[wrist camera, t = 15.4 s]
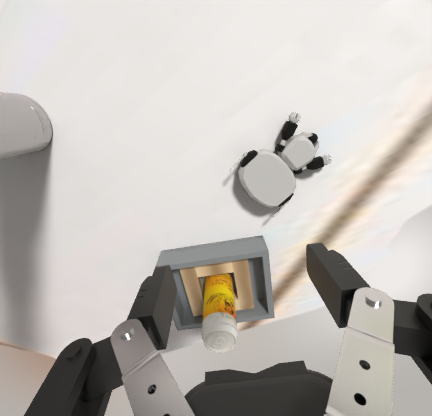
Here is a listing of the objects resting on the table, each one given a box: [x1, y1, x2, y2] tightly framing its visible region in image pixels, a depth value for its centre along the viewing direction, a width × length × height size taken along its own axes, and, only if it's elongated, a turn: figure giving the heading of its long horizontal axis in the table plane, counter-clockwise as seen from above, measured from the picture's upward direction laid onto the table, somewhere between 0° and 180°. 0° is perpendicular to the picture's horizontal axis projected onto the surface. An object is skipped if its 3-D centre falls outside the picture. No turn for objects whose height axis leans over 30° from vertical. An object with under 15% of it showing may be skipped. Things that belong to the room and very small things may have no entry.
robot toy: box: [230, 112, 331, 217], centre depth 39 cm, size 12×4×15 cm
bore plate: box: [180, 259, 254, 316], centre depth 49 cm, size 14×14×3 cm
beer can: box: [202, 273, 238, 353], centre depth 43 cm, size 6×6×15 cm
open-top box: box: [156, 236, 275, 330], centre depth 49 cm, size 22×18×6 cm
